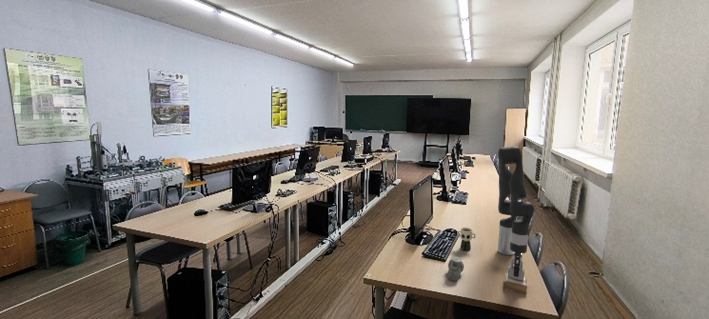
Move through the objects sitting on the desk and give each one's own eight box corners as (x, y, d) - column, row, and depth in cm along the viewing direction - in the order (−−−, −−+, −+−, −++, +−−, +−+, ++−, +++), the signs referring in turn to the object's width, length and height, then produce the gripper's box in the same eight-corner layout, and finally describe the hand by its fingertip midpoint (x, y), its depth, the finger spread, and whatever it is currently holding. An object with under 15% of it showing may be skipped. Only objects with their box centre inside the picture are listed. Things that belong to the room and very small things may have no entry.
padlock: (524, 277, 163) (525, 258, 162) (523, 281, 160) (524, 262, 159) (508, 273, 167) (510, 255, 166) (507, 277, 164) (508, 258, 162)
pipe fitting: (448, 268, 181) (450, 252, 178) (463, 273, 178) (465, 256, 175) (443, 281, 171) (445, 263, 168) (459, 286, 167) (461, 268, 164)
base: (504, 279, 171) (505, 272, 170) (526, 284, 166) (526, 276, 166) (503, 288, 162) (504, 280, 161) (526, 294, 157) (527, 285, 157)
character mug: (455, 249, 208) (456, 229, 206) (457, 245, 214) (458, 226, 212) (474, 252, 203) (475, 232, 202) (474, 248, 210) (476, 228, 208)
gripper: (510, 235, 169) (508, 266, 171) (510, 245, 156) (507, 279, 159) (527, 237, 165) (524, 269, 168) (527, 248, 153) (524, 282, 155)
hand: (516, 274), depth 163 cm, fingers closed on padlock, 4 cm apart
